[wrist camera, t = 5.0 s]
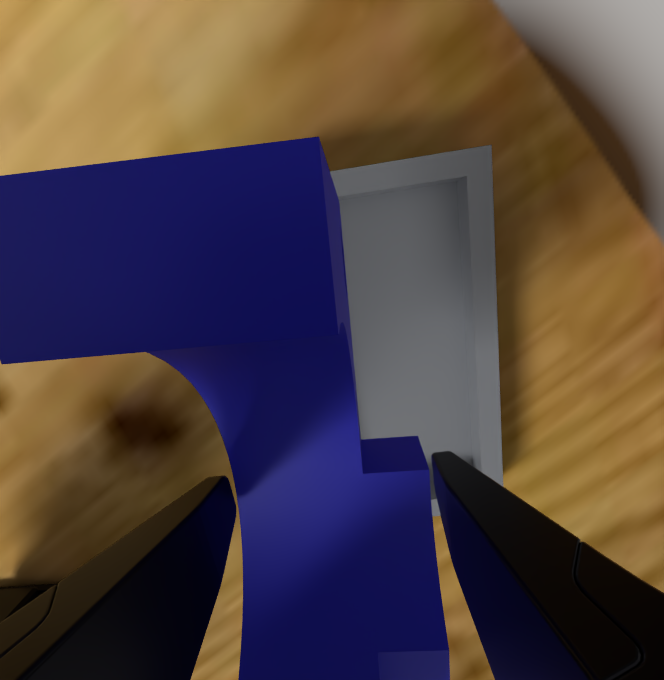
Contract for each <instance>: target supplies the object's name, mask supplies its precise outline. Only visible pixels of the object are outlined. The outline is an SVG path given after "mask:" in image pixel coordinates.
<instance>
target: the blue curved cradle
mask: <svg viewBox="0 0 664 680" xmlns="http://www.w3.org/2000/svg"><path fill="white" fill-rule="evenodd" d="M137 352H147V353H150V354H152V355H154V356H156V357H158V358H160V359H162V360H164V361H166V362H167V363H168V364H170V365H171V366H173V367H174V368H175V369H177V370H178V371H179V372H180V373H181V374H182V375H183V376H184V377H186V378H187V379H188V380H189V381H190V382H191V383H192V385H193V386H194V387H195V389H196V390H197V391H198V392H199V394H200V395H201V396H202V398H203V399H204V401H205V403H206V404H207V406H208V408H209V409H210V411H211V413H212V415H213V417H214V419H215V421H216V423H217V425H218V428H219V430H220V433H221V436H222V438H223V441H224V444H225V447H226V450H227V453H228V457H229V461H230V465H231V469H232V472H233V477H234V483H235V488H236V493H237V500H238V507H239V515H240V525H241V537H242V553H243V622H242V640H241V656H240V668H239V680H450V668H449V647H448V640H447V633H446V627H445V620H444V613H443V606H442V598H441V591H440V583H439V575H438V567H437V558H436V549H435V540H434V529H433V518H432V506H431V491H430V472H429V467H428V464H427V461H426V458H425V455H424V452H423V449H422V446H421V443H420V440H419V437H418V436H405V437H390V438H375V439H361V435H360V424H359V413H358V402H357V391H356V380H355V369H354V358H353V347H352V336H351V325H350V314H349V303H348V292H347V281H346V270H345V259H344V248H343V237H342V226H341V215H340V204H339V199H338V196H337V193H336V189H335V186H334V183H333V180H332V177H331V174H330V171H329V167H328V164H327V161H326V158H325V155H324V152H323V149H322V145H321V142H320V139H319V137H312V138H304V139H296V140H288V141H280V142H271V143H263V144H255V145H247V146H239V147H231V148H223V149H215V150H207V151H199V152H190V153H182V154H174V155H166V156H158V157H150V158H142V159H134V160H126V161H118V162H109V163H101V164H93V165H85V166H77V167H69V168H61V169H53V170H45V171H36V172H28V173H20V174H12V175H4V176H0V360H1V363H2V364H11V363H22V362H34V361H45V360H57V359H68V358H80V357H91V356H103V355H114V354H126V353H137Z"/></svg>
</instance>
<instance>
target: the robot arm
mask: <svg viewBox="0 0 664 680" xmlns="http://www.w3.org/2000/svg"><path fill="white" fill-rule="evenodd" d="M431 460H432V469H433V479H434V487H435V493H436V498H437V502H438V506H439V510H440V514H441V518H442V523H443V527H444V531H445V535H446V539H447V543H448V547H449V552H450V555H451V559H452V563H453V566H454V569H455V572H456V575H457V578H458V580H459V583H460V586H461V589H462V591H463V594H464V597H465V599H466V602H467V605H468V608H469V610H470V613H471V616H472V618H473V621H474V624H475V626H476V629H477V632H478V635H479V637H480V640H481V643H482V645H483V648H484V651H485V654H486V656H487V659H488V662H489V664H490V667H491V670H492V673H493V675H494V678H495V680H664V593H663V592H661V591H660V590H658V589H656V588H655V587H653V586H651V585H650V584H648V583H646V582H645V581H643V580H641V579H640V578H638V577H637V576H635V575H633V574H632V573H630V572H629V571H627V570H626V569H624V568H623V567H621V566H620V565H618V564H617V563H615V562H613V561H612V560H610V559H609V558H607V557H606V556H604V555H603V554H601V553H600V552H598V551H597V550H595V549H594V548H593V547H591V546H590V545H588V544H587V543H585V542H581V541H580V539H579V538H578V537H576V536H575V535H573V534H572V533H570V532H569V531H567V530H566V529H564V528H563V527H561V526H560V525H559V524H557V523H556V522H554V521H553V520H551V519H550V518H548V517H547V516H545V515H544V514H542V513H541V512H539V511H538V510H537V509H535V508H534V507H532V506H531V505H529V504H528V503H526V502H525V501H523V500H522V499H520V498H519V497H517V496H516V495H515V494H513V493H512V492H510V491H509V490H507V489H506V488H504V487H503V486H501V485H500V484H498V483H497V482H495V481H494V480H493V479H491V478H490V477H488V476H487V475H485V474H484V473H482V472H481V471H479V470H478V469H476V468H475V467H473V466H472V465H471V464H469V463H468V462H466V461H465V460H463V459H462V458H460V457H459V456H457V455H456V454H454V453H453V452H451V451H442V452H434V453H432V455H431ZM235 518H236V504H235V501H234V497H233V493H232V490H231V486H230V482H229V480H228V478H227V477H226V476H214V477H208V478H207V479H205V480H204V481H202V482H201V483H199V484H198V485H197V486H195V487H194V488H192V489H191V490H189V491H188V492H187V493H185V494H184V495H182V496H181V497H179V498H178V499H177V500H175V501H174V502H172V503H171V504H170V505H168V506H167V507H165V508H164V509H162V510H161V511H160V512H158V513H157V514H155V515H154V516H152V517H151V518H150V519H148V520H147V521H145V522H144V523H142V524H141V525H140V526H138V527H137V528H135V529H134V530H132V531H131V532H130V533H128V534H127V535H125V536H124V537H123V538H121V539H120V540H118V541H117V542H115V543H114V544H113V545H111V546H110V547H108V548H107V549H105V550H104V551H103V552H101V553H100V554H98V555H97V556H95V557H94V558H93V559H91V560H90V561H88V562H87V563H86V564H84V565H83V566H81V567H80V568H78V569H77V570H76V571H74V572H73V573H71V574H70V575H68V576H67V577H66V578H64V579H63V580H61V581H60V582H59V583H58V584H47V585H34V586H21V587H8V588H0V680H190V679H191V676H192V673H193V670H194V667H195V664H196V661H197V658H198V655H199V651H200V648H201V645H202V642H203V639H204V636H205V633H206V630H207V627H208V624H209V621H210V617H211V614H212V611H213V608H214V605H215V602H216V599H217V596H218V592H219V589H220V586H221V582H222V578H223V574H224V570H225V565H226V560H227V556H228V551H229V546H230V542H231V537H232V532H233V528H234V523H235Z"/></svg>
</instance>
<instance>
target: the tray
mask: <svg viewBox="0 0 664 680" xmlns="http://www.w3.org/2000/svg"><path fill="white" fill-rule="evenodd" d="M330 174H331V177H332V180H333V183H334V186H335V189H336V193H337V196H338V199H339V204H340V215H341V226H342V237H343V248H344V259H345V270H346V281H347V292H348V303H349V314H350V325H351V336H352V347H353V358H354V369H355V380H356V391H357V402H358V413H359V424H360V435H361V439H375V438H390V437H405V436H418V437H419V440H420V443H421V446H422V449H423V452H424V455H425V458H426V461H427V464H428V467H429V472H430V491H431V506H432V516H441V514H440V510H439V506H438V502H437V498H436V493H435V487H434V479H433V469H432V460H431V455H432V453H434V452H442V451H451V452H453V453H454V454H456V455H457V456H459V457H460V458H462V459H463V460H465V461H466V462H468V463H469V464H471V465H472V466H473V467H475V468H476V469H478V470H479V471H481V472H482V473H484V474H485V475H487V476H488V477H490V478H491V479H493V480H494V481H495V482H497V483H498V484H500V485H501V486H503V467H502V438H501V409H500V380H499V351H498V321H497V292H496V263H495V234H494V205H493V176H492V146H491V145H487V146H481V147H475V148H469V149H463V150H457V151H451V152H445V153H439V154H433V155H427V156H421V157H414V158H408V159H402V160H396V161H390V162H384V163H378V164H372V165H366V166H360V167H354V168H348V169H342V170H336V171H330Z"/></svg>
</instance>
